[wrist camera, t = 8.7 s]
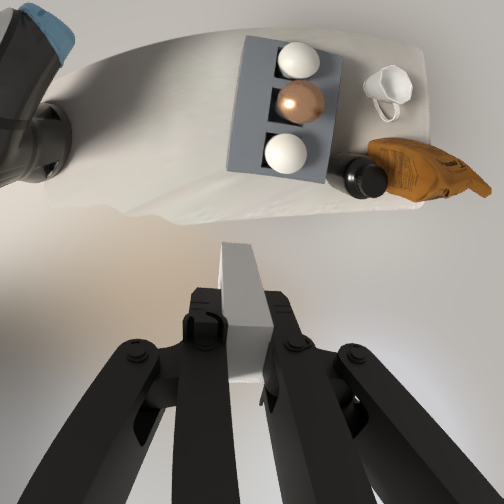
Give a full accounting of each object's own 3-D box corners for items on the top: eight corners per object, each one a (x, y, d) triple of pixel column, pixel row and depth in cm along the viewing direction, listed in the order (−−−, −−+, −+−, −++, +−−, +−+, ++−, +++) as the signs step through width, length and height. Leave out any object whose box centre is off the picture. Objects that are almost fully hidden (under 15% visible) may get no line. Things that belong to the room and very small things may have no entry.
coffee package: (412, 188, 48) (491, 224, 28) (362, 186, 47) (442, 225, 27) (415, 141, 44) (500, 158, 24) (364, 134, 43) (451, 144, 23)
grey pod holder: (225, 165, 43) (227, 171, 36) (241, 51, 35) (246, 35, 28) (308, 175, 45) (324, 183, 38) (323, 67, 37) (342, 56, 30)
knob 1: (266, 84, 36) (277, 72, 28) (270, 55, 34) (282, 38, 26) (299, 90, 37) (317, 81, 29) (303, 62, 35) (321, 47, 27)
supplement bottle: (362, 179, 46) (399, 194, 35) (332, 195, 47) (363, 214, 36) (349, 145, 44) (385, 151, 33) (317, 161, 44) (346, 170, 33)
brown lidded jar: (264, 122, 35) (276, 118, 27) (269, 88, 33) (282, 75, 25) (300, 128, 36) (321, 127, 28) (305, 95, 34) (327, 86, 26)
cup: (384, 72, 38) (409, 66, 31) (392, 121, 42) (418, 122, 35) (352, 70, 38) (375, 62, 30) (362, 122, 42) (386, 122, 35)
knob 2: (255, 164, 41) (263, 171, 33) (259, 131, 39) (269, 130, 31) (288, 168, 42) (303, 176, 34) (292, 136, 40) (309, 137, 32)
